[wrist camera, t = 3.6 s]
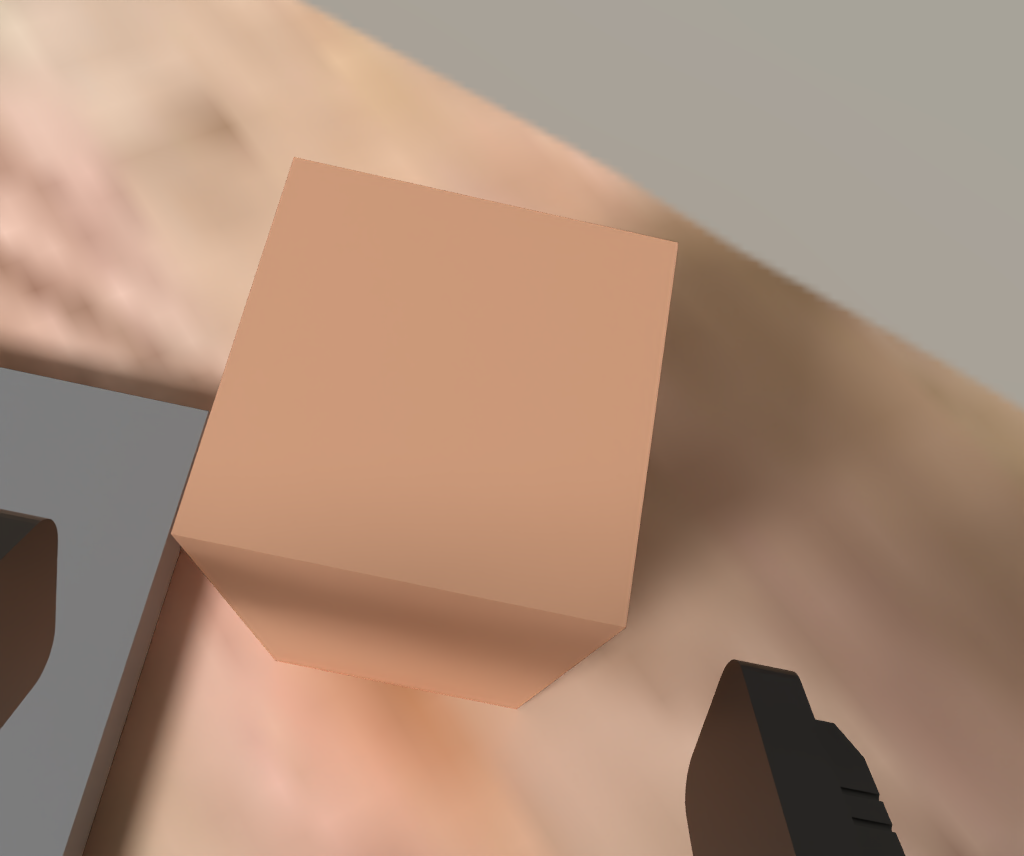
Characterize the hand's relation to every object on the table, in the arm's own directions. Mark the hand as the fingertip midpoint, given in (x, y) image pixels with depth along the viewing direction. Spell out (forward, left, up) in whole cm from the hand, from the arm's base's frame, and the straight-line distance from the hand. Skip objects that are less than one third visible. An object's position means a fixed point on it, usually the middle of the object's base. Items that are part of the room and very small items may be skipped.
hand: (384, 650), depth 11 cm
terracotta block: (0, -3, -9) cm, 9 cm away
